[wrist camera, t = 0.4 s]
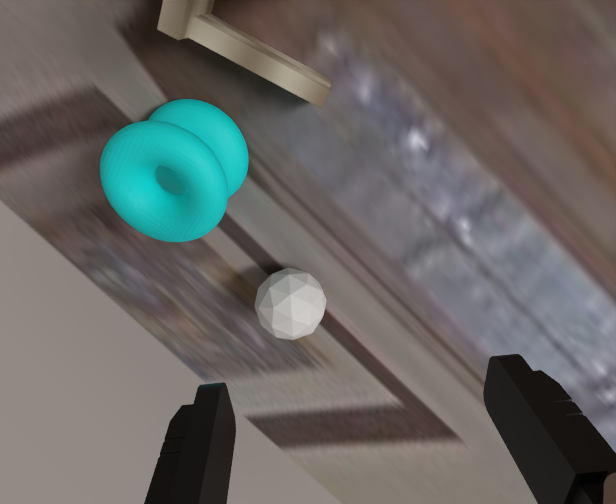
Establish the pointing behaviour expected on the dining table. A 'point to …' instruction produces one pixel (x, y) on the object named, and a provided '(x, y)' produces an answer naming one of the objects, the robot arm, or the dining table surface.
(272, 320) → the geometric ball
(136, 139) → the donuts
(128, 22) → the dining table surface
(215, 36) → the birch bay
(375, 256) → the dining table surface
